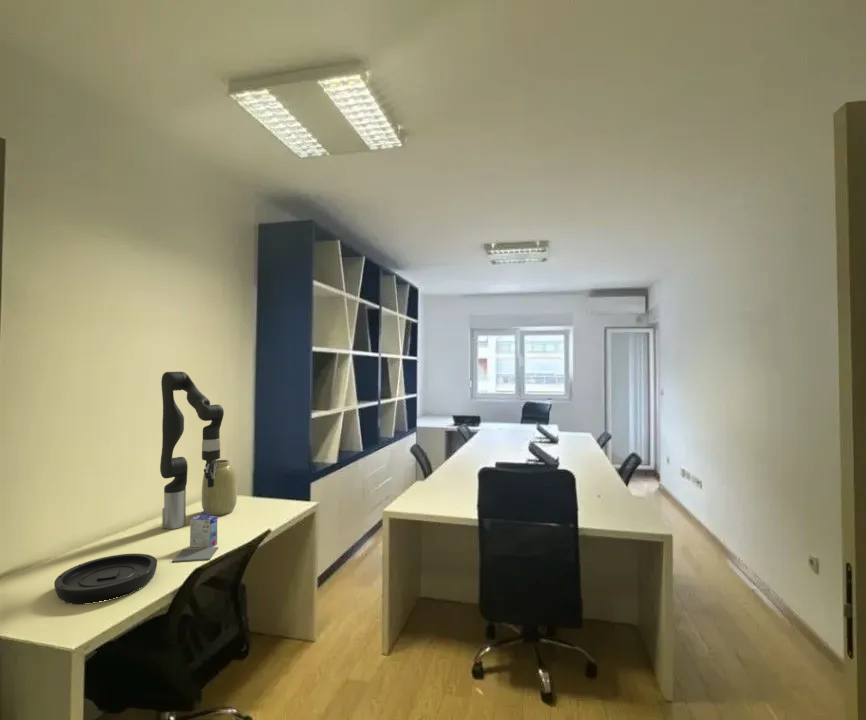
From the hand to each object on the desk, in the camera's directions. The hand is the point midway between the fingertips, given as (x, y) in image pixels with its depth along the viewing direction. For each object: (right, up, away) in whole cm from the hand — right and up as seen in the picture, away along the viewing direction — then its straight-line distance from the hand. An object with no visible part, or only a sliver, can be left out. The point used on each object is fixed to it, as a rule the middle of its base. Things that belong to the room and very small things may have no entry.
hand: (211, 486), depth 213 cm
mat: (+3, -23, -20) cm, 30 cm away
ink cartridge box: (+1, -23, -10) cm, 25 cm away
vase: (-13, -24, +37) cm, 46 cm away
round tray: (-15, -23, -46) cm, 54 cm away
